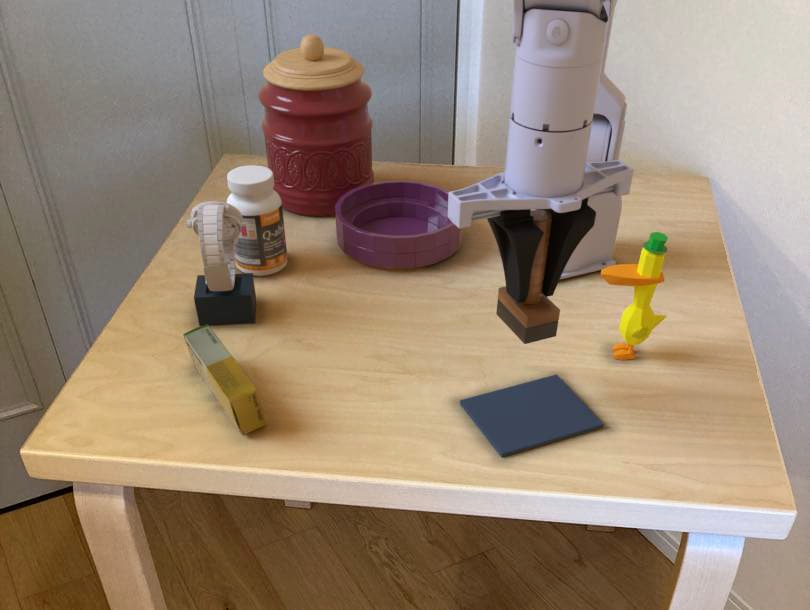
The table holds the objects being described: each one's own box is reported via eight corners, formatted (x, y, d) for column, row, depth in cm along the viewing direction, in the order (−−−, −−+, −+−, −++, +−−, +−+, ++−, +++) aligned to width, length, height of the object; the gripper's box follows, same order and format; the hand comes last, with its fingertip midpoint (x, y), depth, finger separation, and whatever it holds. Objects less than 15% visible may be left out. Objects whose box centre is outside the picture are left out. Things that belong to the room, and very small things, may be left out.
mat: (556, 377, 78) (556, 373, 77) (603, 427, 73) (604, 424, 72) (459, 403, 75) (459, 400, 75) (501, 457, 70) (501, 453, 70)
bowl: (429, 205, 102) (430, 172, 99) (482, 257, 93) (485, 223, 90) (320, 226, 98) (317, 192, 95) (364, 283, 89) (363, 248, 86)
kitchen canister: (248, 200, 103) (226, 39, 90) (314, 164, 110) (303, 10, 98) (331, 228, 98) (320, 62, 85) (395, 189, 105) (394, 30, 92)
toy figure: (588, 363, 79) (611, 243, 71) (584, 342, 82) (606, 223, 73) (659, 366, 79) (691, 246, 70) (654, 344, 81) (684, 226, 73)
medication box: (193, 368, 79) (180, 332, 76) (220, 358, 79) (208, 321, 76) (241, 437, 71) (229, 400, 68) (269, 424, 72) (259, 387, 69)
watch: (257, 290, 88) (242, 187, 80) (254, 332, 83) (238, 226, 75) (203, 293, 88) (183, 189, 80) (197, 335, 82) (175, 228, 74)
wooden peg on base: (526, 307, 72) (539, 198, 65) (556, 336, 69) (573, 225, 62) (495, 314, 71) (505, 205, 64) (524, 344, 68) (538, 233, 61)
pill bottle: (279, 280, 90) (268, 188, 82) (228, 275, 90) (213, 183, 83) (294, 255, 94) (285, 165, 86) (245, 250, 94) (232, 160, 87)
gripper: (484, 154, 54) (471, 338, 63) (672, 121, 58) (632, 298, 67) (437, 116, 58) (432, 293, 68) (615, 88, 62) (586, 259, 72)
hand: (529, 293), depth 68 cm, fingers closed on wooden peg on base, 2 cm apart
